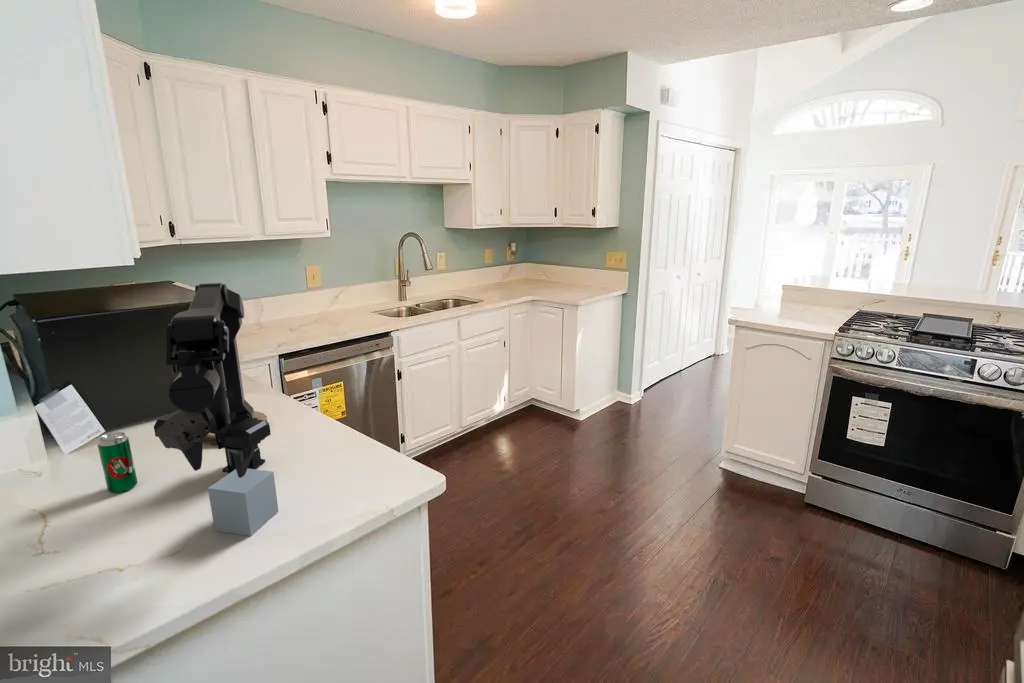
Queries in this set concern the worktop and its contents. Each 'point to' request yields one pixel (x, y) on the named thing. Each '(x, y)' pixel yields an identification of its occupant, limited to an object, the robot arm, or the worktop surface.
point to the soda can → (117, 462)
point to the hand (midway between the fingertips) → (219, 473)
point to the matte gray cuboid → (243, 501)
